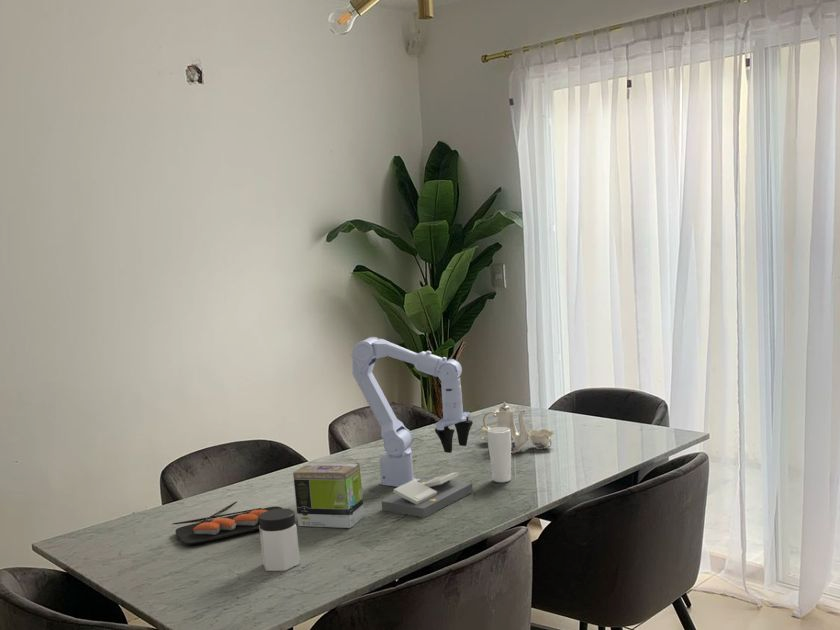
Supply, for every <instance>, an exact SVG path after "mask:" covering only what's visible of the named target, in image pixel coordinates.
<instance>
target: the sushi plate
mask: <svg viewBox="0 0 840 630" xmlns="http://www.w3.org/2000/svg"><path fill="white" fill-rule="evenodd" d="M237 503H238V501H234V502H232V503H230V504H229V505H227V506H225V507H224V508H222V509H221V510H219V511H217V512H215V513H214V514H211V515H210V516H207V517H201V518H195V519H190V520H185V521H179V522H173V523H172V525H180V524H186V523H187V524H188V523H192V524H188V525H187V524H186V525H184V526H180V527H178V528H176V529H175V534H176V535H175V536H177V538H178V539H179V540H180V541H181V543H183V544H185V545H196V544H202V543H204V542H210V541H214V540H218V539H222V538H226V537H232V536H235V535H240V534H245V533H249V532H253V531H257V530H259V515H260V514H262V513H263V512H266V511H269V510H273V509H284V508H283V507H281V506H278V505H277V506H276V505H275V506H268V507H264V508H263V507H260V508H253V509H247V510H242V511H236V512H235V511H234V512H231V513H225V514H221V513H222V512H224V511H226V510H228V509H230V508H232V507H233V506H234V505H235V504H237ZM219 514H220V515H219Z"/></svg>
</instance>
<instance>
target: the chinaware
mask: <svg viewBox="0 0 840 630" xmlns="http://www.w3.org/2000/svg"><path fill="white" fill-rule="evenodd" d="M515 411H516V409H515V408H511V407H510V406H509V405H508V404H507V403H506V401H504V402H503V403H502V405H501V406H500V407H499V408H498V409H495V411H488V412H487V413H485V414H484V416H483V418H482V421H483V422H482V423H483V425H484V426H483V427H482V428H481V430H480V431H479V437H480V438H481V439H483V440H485V439H487V442H488V436H487V430H488V429H490V428H495V427H507V428H509V429H510V431H511V453H512V454H517V453H519V452H520V451H521V448H523V446H524V445H525V444H526V443H527V442H528V440H529V441H530V443H531V444H532V445H533V446H535V448H536V450H544V449H547V448H551V447H552V443H553V442H552V437H553V435H554V433H555V431H553V430H552V431H550V430H549V429H546V428H543V429H540V430H537V429H531V430H530V431H528V428H527V425H526V422H525V420H524V417H523V416H524V414H525V412H526V411H525V410H521V411H520V412H519V413H518V424H519V425H518V426H519V431H518V429H517V427H516V424H515ZM490 414H493V415H492V417H493V418H496V419H497V422H496V423H497V424H491V425H489V426H488V425H487V424H486V423H487V422H486V418H487V416H488V415H490ZM482 432H483V433H484V436H485V437H483V436H482V435H481V433H482ZM516 452H517V453H516Z"/></svg>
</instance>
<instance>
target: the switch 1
mask: <svg viewBox="0 0 840 630" xmlns="http://www.w3.org/2000/svg"><path fill="white" fill-rule="evenodd" d="M393 494H394V495H396V494H397V495H399V496H401V497H403V498H405V499H407V500H408V501H410V502H412V503H414V504H416V505H417V504H419V503H421V502H423V501H425V500H427V499H429V498H431V497H433V496H435V495H437V491H435V490H433V489H431V488H429V487H427V486H425V485H424V484H422V483H421V482H420V481H416V480H412V481H410V482H408V483H406V484H404V485H402V486H399V487H395V488H393Z"/></svg>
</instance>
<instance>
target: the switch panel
mask: <svg viewBox="0 0 840 630" xmlns="http://www.w3.org/2000/svg"><path fill="white" fill-rule="evenodd" d="M434 478H435V477H430V478H428V479H425V480H424V481H423V480H422V481H421V482H420V483H422V484H423V483H425V482H427V481H429V480H432V479H434ZM429 488H431V489H433V490H435V491H437V495H435V496H433V497H431V498H429V499H427V500H425V501H423V502H421V503H419V504H417V505H416V504H414V503H412V502H410V501H408V500H407V499H405V498H403V497H401V496H399V495H397V494H394V495H391V496H390V497H388V498H386V499H383V500H381V510H382V511H385V512H390V513H394V514H395V513H396V514H400V513H401V515H405V514H408V515H407V516H411V515H412V516H411V517H416V516H419V517H418V518H422V517H424V518H423V519H425V518H426V516H427V517H428V516H430V514H431V515H433V514H434V513H436V512H438V511H439V509H440V510H441V508H442V509H444V508H446V507H447V505H448V506H450V505H451V504H454V503H455V502H457V501H459V500H460V498H461V499H462V498H464V497H466V496H468V495H469V493H470V494H472V493H473V491H474V490H473V488H474V487H473V482H468V481H467V482H465V481H459V480H453V479H451V480H449V481H447V482H445V483H442V484H440V485H436V486H431V487H429ZM471 492H472V493H471ZM467 494H468V495H467ZM458 499H459V500H458ZM454 501H455V502H454ZM445 506H446V507H445ZM443 507H444V508H443ZM437 510H438V511H437ZM432 513H433V514H432Z"/></svg>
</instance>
